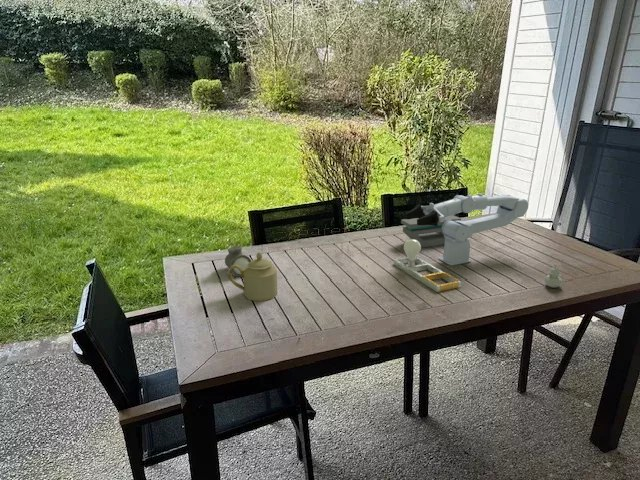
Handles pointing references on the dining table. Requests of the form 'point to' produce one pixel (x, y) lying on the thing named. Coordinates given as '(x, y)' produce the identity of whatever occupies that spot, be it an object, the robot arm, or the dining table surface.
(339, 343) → the dining table surface
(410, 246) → the lightbulb
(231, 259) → the pipe fitting
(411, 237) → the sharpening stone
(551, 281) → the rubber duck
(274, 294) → the sugar bowl
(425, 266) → the rack
